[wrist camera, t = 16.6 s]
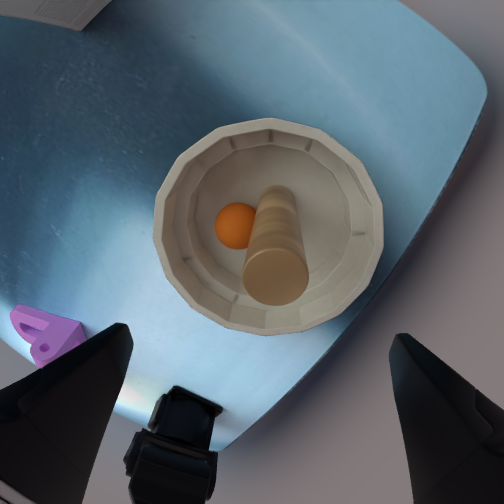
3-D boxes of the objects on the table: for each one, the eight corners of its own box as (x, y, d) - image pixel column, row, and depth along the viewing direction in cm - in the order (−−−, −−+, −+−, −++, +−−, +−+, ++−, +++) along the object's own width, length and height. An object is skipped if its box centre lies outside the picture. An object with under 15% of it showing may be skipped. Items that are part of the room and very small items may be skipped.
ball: (257, 214, 21) (270, 249, 19) (217, 228, 21) (227, 264, 19) (249, 187, 18) (264, 223, 17) (204, 202, 18) (214, 240, 17)
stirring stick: (301, 208, 19) (320, 289, 10) (271, 225, 20) (264, 316, 11) (282, 178, 19) (287, 236, 10) (252, 196, 19) (228, 269, 10)
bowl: (395, 198, 19) (425, 221, 15) (288, 319, 24) (288, 362, 20) (244, 83, 17) (233, 71, 12) (151, 234, 22) (122, 264, 18)
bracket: (80, 322, 27) (48, 364, 21) (93, 357, 30) (67, 398, 23) (10, 300, 28) (-20, 330, 22) (24, 333, 30) (-3, 363, 24)
